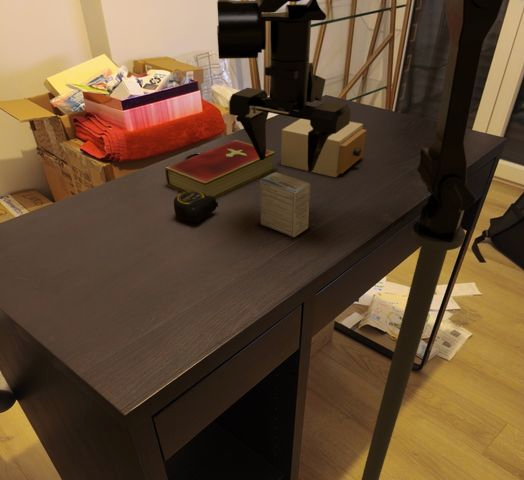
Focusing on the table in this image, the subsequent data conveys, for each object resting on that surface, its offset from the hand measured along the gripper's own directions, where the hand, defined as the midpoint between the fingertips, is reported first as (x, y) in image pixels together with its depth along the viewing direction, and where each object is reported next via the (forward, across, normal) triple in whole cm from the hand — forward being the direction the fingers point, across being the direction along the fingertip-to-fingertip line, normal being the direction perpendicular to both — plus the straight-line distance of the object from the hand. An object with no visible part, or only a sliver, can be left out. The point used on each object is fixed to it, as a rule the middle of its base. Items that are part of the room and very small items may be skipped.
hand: (286, 165), depth 79 cm
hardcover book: (+12, +22, -12) cm, 28 cm away
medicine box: (+12, 0, 0) cm, 12 cm away
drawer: (+10, +6, -31) cm, 33 cm away
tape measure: (+12, +16, +5) cm, 20 cm away
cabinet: (+11, +8, -31) cm, 34 cm away
